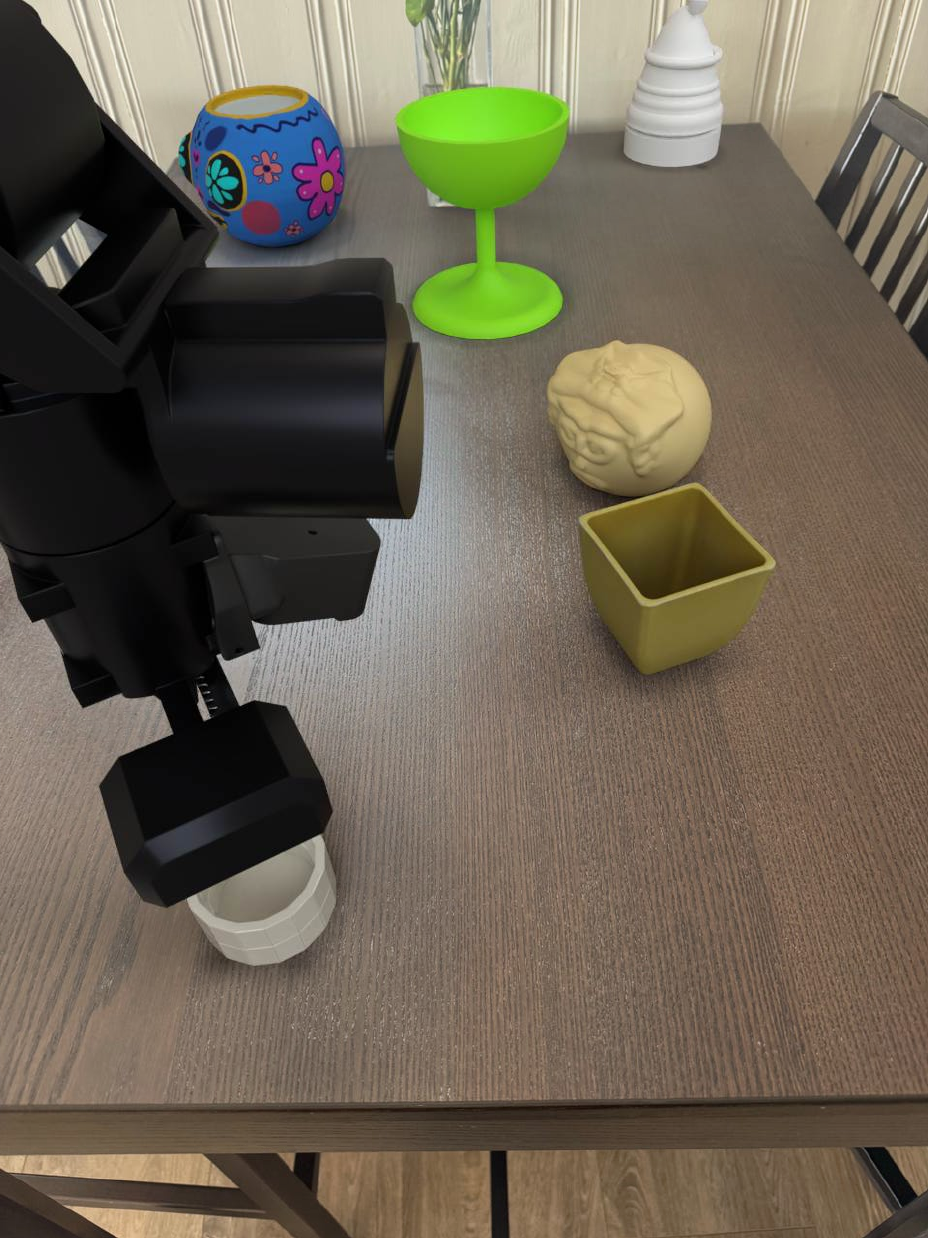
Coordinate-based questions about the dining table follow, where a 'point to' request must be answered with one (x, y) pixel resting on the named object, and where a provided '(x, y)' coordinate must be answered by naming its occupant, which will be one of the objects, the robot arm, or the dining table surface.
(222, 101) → the ceramic pot
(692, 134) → the honey pot
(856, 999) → the dining table surface
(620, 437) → the sculpture
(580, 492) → the dining table surface
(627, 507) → the flower pot
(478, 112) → the wineglass
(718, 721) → the dining table surface
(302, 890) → the bowl
